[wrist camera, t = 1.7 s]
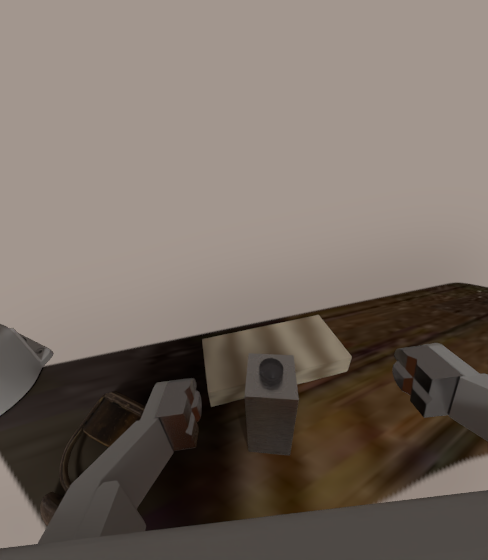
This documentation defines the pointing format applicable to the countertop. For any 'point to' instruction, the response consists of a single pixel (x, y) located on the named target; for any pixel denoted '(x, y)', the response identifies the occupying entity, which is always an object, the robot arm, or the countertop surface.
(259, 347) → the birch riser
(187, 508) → the countertop surface
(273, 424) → the aluminium block
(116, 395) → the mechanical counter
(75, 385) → the countertop surface
